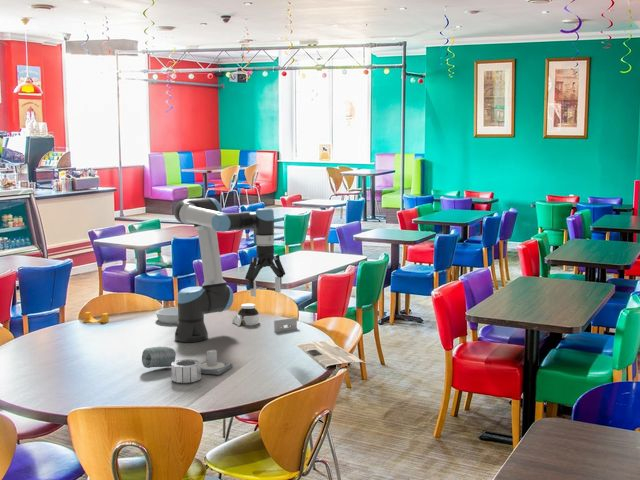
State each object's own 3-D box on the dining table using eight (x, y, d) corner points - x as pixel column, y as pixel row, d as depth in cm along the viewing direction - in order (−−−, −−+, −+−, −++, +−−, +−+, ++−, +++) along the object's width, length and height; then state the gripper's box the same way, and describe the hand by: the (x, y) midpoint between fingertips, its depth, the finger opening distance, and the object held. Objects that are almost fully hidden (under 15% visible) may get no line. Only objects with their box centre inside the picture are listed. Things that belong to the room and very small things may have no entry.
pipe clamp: (83, 326, 384) (82, 313, 383) (88, 324, 388) (87, 311, 387) (103, 327, 380) (103, 315, 379) (108, 325, 384) (108, 313, 383)
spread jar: (261, 327, 379) (261, 304, 378) (247, 332, 369) (246, 308, 368) (242, 324, 385) (241, 302, 384) (227, 329, 376) (227, 305, 375)
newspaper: (296, 349, 338) (296, 343, 338) (336, 345, 345) (336, 339, 345) (325, 371, 304) (325, 364, 304) (370, 366, 311) (370, 360, 311)
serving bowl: (178, 317, 402) (177, 305, 401) (206, 322, 390) (206, 309, 389) (147, 325, 385) (147, 311, 384) (176, 330, 373) (176, 316, 372)
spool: (142, 368, 298) (151, 344, 299) (135, 362, 306) (143, 339, 307) (174, 376, 305) (182, 352, 306) (165, 370, 313) (173, 347, 314)
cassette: (295, 332, 368) (295, 317, 367) (297, 333, 366) (297, 317, 365) (273, 335, 361) (273, 320, 361) (275, 336, 360) (275, 320, 359)
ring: (166, 381, 290) (166, 365, 289) (180, 373, 300) (180, 358, 300) (192, 383, 287) (191, 368, 286) (205, 375, 297) (205, 360, 296)
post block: (191, 372, 302) (191, 353, 301) (205, 364, 313) (205, 346, 312) (219, 375, 298) (218, 356, 297) (232, 366, 309) (231, 348, 308)
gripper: (247, 248, 313) (248, 299, 316) (293, 243, 330) (293, 291, 333) (236, 246, 318) (237, 296, 321) (281, 241, 336) (282, 289, 338)
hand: (265, 294), depth 327 cm, fingers open, 13 cm apart
